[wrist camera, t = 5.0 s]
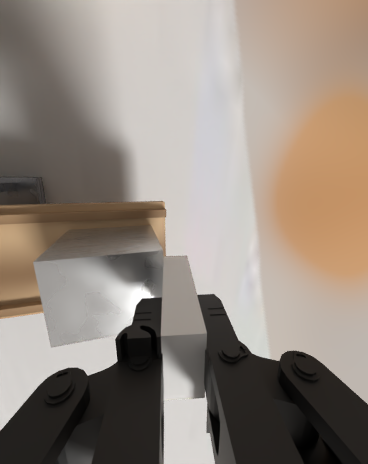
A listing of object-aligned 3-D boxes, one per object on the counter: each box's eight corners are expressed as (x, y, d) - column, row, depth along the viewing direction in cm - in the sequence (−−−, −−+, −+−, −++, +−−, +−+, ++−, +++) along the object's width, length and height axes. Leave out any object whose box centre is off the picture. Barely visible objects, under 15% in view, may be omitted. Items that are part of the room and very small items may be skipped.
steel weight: (68, 229, 15) (32, 262, 9) (151, 225, 16) (163, 250, 11) (77, 288, 16) (51, 347, 11) (153, 278, 18) (165, 326, 12)
